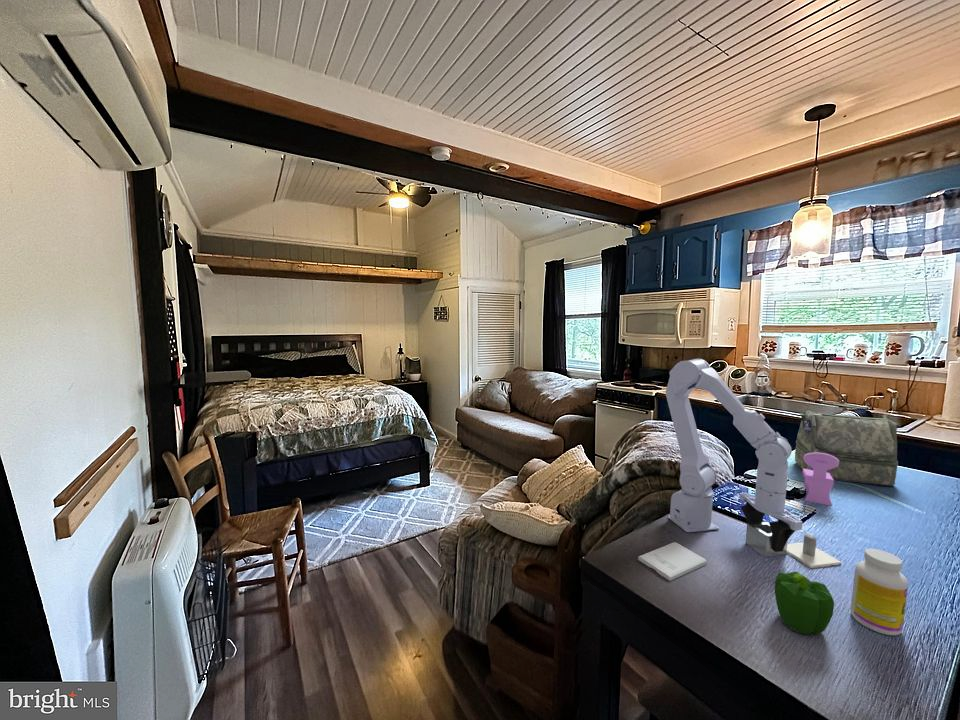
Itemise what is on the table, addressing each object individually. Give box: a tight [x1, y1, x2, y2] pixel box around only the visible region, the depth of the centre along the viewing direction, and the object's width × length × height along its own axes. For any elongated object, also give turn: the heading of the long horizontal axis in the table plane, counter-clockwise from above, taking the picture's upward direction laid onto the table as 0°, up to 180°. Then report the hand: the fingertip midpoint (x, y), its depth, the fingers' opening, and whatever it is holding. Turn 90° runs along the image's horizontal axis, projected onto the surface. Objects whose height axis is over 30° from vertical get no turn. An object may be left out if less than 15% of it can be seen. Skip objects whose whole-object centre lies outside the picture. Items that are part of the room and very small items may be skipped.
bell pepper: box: [774, 571, 835, 635], centre depth 70 cm, size 8×8×10 cm
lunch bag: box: [794, 410, 899, 486], centre depth 137 cm, size 26×18×22 cm
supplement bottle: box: [850, 548, 909, 636], centre depth 70 cm, size 7×7×13 cm
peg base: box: [786, 533, 842, 569], centre depth 90 cm, size 8×8×5 cm
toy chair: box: [802, 452, 839, 506], centre depth 120 cm, size 8×9×15 cm
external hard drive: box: [637, 541, 708, 582], centre depth 88 cm, size 2×8×12 cm
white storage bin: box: [745, 521, 788, 558], centre depth 93 cm, size 6×6×5 cm
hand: (765, 543), depth 93 cm, fingers closed on white storage bin, 6 cm apart
